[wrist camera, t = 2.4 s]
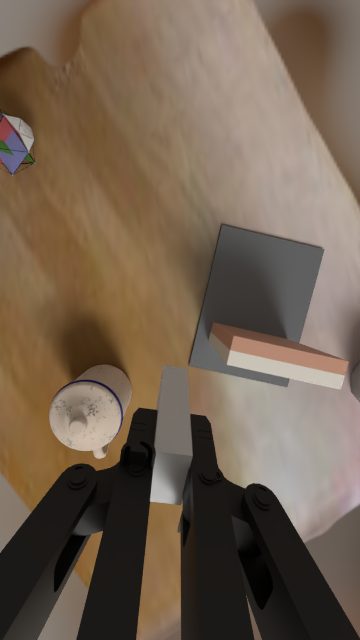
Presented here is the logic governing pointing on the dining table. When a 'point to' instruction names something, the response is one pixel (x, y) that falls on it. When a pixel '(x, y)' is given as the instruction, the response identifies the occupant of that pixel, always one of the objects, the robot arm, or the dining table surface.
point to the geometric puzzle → (14, 142)
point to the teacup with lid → (91, 409)
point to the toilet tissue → (356, 382)
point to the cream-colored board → (276, 356)
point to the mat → (256, 294)
